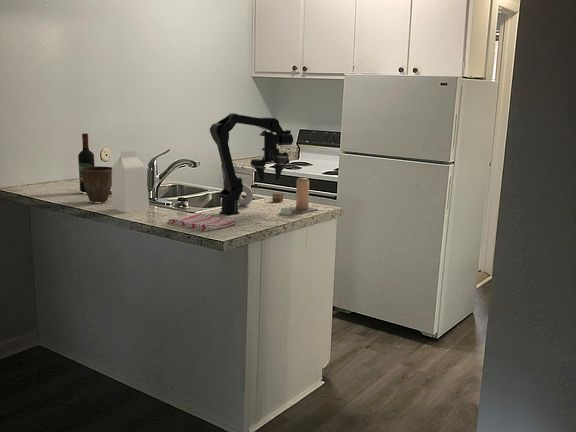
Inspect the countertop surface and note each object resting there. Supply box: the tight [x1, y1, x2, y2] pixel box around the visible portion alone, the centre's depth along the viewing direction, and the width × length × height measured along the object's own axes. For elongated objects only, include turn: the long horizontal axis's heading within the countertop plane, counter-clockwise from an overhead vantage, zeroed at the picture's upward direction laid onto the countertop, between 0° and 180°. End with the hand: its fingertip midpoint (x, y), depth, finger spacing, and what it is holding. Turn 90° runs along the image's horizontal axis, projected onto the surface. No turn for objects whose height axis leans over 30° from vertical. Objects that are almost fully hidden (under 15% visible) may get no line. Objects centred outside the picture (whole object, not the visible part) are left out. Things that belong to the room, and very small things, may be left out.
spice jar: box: [295, 177, 310, 210], centre depth 273 cm, size 6×6×14 cm
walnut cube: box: [271, 192, 284, 203], centre depth 294 cm, size 4×4×4 cm
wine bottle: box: [77, 132, 96, 192], centre depth 304 cm, size 8×8×30 cm
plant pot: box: [81, 166, 113, 202], centre depth 282 cm, size 15×15×16 cm
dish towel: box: [167, 212, 237, 232], centre depth 243 cm, size 17×23×4 cm
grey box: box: [280, 205, 293, 215], centre depth 267 cm, size 6×4×3 cm, turn 173°
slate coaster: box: [292, 206, 319, 214], centre depth 274 cm, size 10×10×1 cm
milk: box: [111, 150, 150, 213], centre depth 266 cm, size 12×12×26 cm
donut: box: [237, 183, 254, 207], centre depth 281 cm, size 10×4×10 cm, turn 64°
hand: (270, 180), depth 272 cm, fingers open, 9 cm apart
